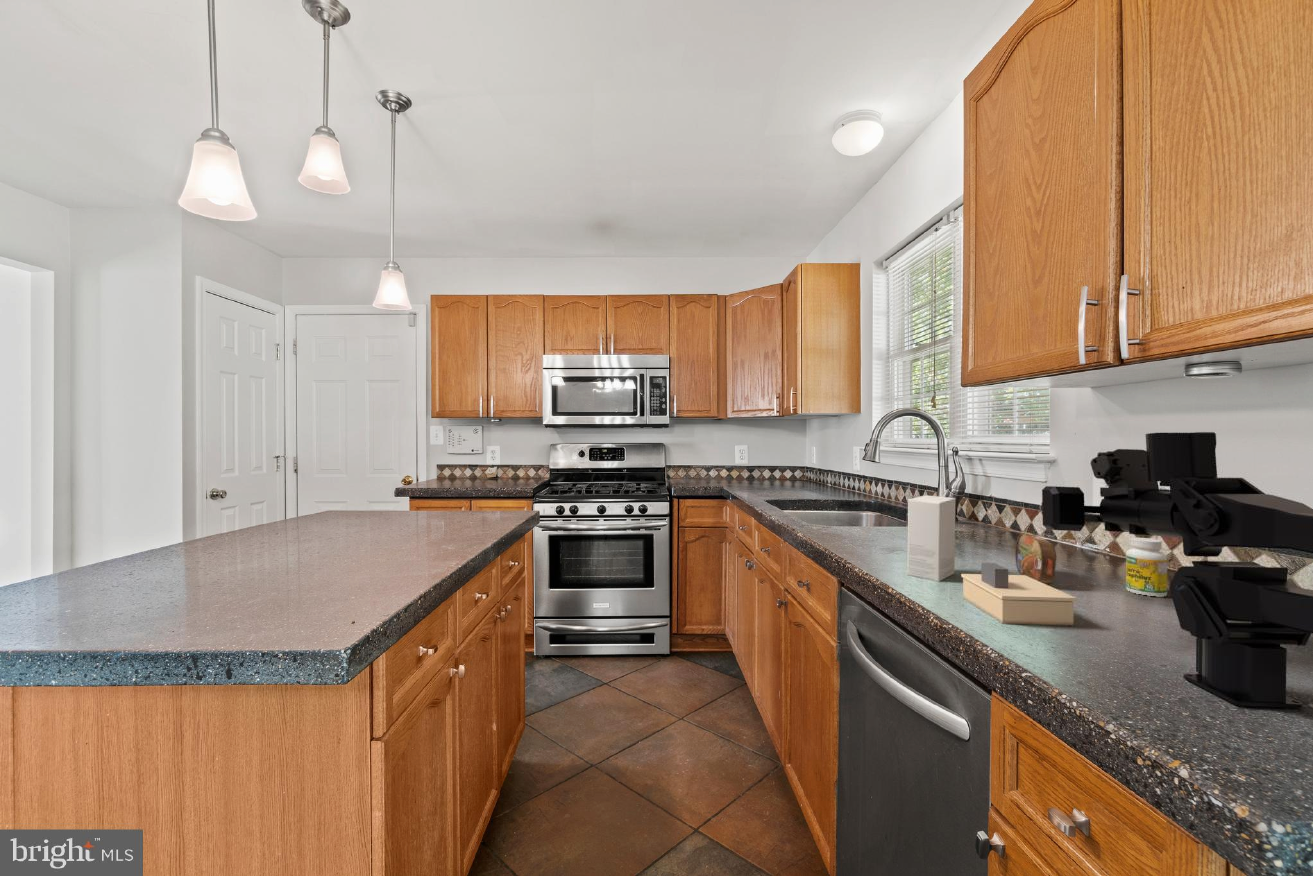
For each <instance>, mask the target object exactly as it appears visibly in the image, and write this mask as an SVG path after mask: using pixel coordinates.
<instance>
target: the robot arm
mask: <svg viewBox="0 0 1313 876" xmlns="http://www.w3.org/2000/svg"><path fill="white" fill-rule="evenodd" d="M1145 446H1146V448H1145V449H1146V450H1145V449H1137V448H1136V449H1133V448H1131V449H1129V448H1118V449H1115V450H1113V451H1110V450H1109V451H1106V452H1104V451H1103V452H1102V451H1101V452H1098V453H1097V454H1096V455H1097V456H1096V457H1094V458H1092V459H1091V460H1090V466H1091V470H1092V474H1093V476H1094V478H1096V479H1097V480H1103V481H1104V483H1105V484H1106V485H1107V487H1104V486H1103V487H1099V491H1100V492H1099V494H1100V497H1101V498H1102V499H1101V501H1100V503H1099V505H1085V493H1084V492H1083V490H1082V489H1081V488H1080V487H1079V486H1057V485H1056V486H1053V485H1047V486H1046V485H1045V487H1043V488H1042V489H1041V498H1042V499H1041V500H1042V501H1041V510H1042V526H1043V527H1044V528H1046V530H1050V531H1067V532H1081V531H1082V529H1084V527H1085V525H1086V522H1087V523H1089V522H1090V523H1104V531H1106V532H1119V533H1122V532H1123V533H1128V534H1129V535H1134V536H1135V535H1136V536H1137V535H1139V536H1141V535H1143V536H1157V537H1165V538H1174V539H1181V540H1182V552H1183V555H1184V556H1186V557H1203V558H1204V557H1208V558H1209V557H1211V558H1217V557H1219V556H1220V555H1221V554H1222V551H1223V548H1225V547H1227V548H1231V547H1232V548H1259V549H1285V550H1288V549H1289V550H1293V551H1299V552H1302V553H1303V552H1305V553H1310V554H1313V508H1311V507H1310V506H1309V505H1306V504H1305V503H1303V502H1300V501H1295V500H1293V499H1288V498H1285V497H1282V496H1277V495H1273V494H1267V493H1265V492H1263V491H1262V490H1261V489H1259V488H1258V487H1256V486H1255V485H1253V484H1252V483H1251V482H1249V481H1247V480H1246V479H1245V478H1243V477H1218V470H1217V469H1218V468H1217V467H1218V466H1217V455H1216V450H1217V449H1216V448H1217V433H1215V432H1213V431H1208V432H1207V431H1201V432H1200V431H1195V432H1151V433H1149V432H1148V433H1145ZM1160 487H1169V489H1166V488H1165V489H1164V488H1160ZM1191 563H1192V565H1193V566H1191V565H1187V566H1185V565H1183V566H1180V567H1178V568H1177V570H1176V572H1175V573H1174V575H1173V577H1172V579H1171V581H1170V583H1169V592H1170V596H1171V599H1172V603H1173V607H1174V609H1175V612H1176V616H1177V620H1178V623H1179V626H1180V629H1182V630H1184V631H1186V632H1189V633H1190V636H1192V637H1195V639H1196V640H1195V642H1196V643H1195V672H1196V673H1183V676H1182V677H1183V679H1184V680H1186V681H1188V682H1190V683H1192V684H1194V685H1196V686H1198V687H1200V688H1202V689H1204V690H1206V691H1208V692H1210V693H1212V694H1214V695H1215V696H1218V697H1219V698H1221V699H1223V700H1225V701H1228V702H1229V703H1231V704H1233V705H1235V706H1239V707H1240V706H1241V707H1242V706H1243V707H1258V708H1259V707H1260V708H1261V707H1264V708H1285V709H1303V707H1304V704H1303V702H1301V701H1300V700H1299V701H1298V700H1296V699H1294V698H1292V697H1290V696H1289V695H1288V696H1287V663H1288V662H1287V656H1288V655H1287V654H1288V653H1287V652H1288V649H1287V648H1286V647H1285V645H1286V646H1292V645H1293V646H1298V647H1299V646H1300V647H1305V646H1306V645H1307V642H1308V641H1309V640H1310V637H1311V635H1312V634H1313V589H1308V588H1304V587H1300V586H1297V585H1296V584H1294V583H1292V582H1291V581H1290V580H1288V576H1289V575H1288V574H1289V567H1288V566H1287V567H1282V566H1281V567H1278V566H1264V565H1261V564H1259V563H1257V562H1255V561H1230V560H1229V561H1228V560H1227V561H1222V560H1221V561H1219V560H1218V561H1217V560H1192V562H1191ZM1231 621H1233V622H1231ZM1281 645H1283V647H1282V646H1281Z"/></svg>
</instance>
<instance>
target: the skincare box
mask: <svg viewBox="0 0 1313 876" xmlns="http://www.w3.org/2000/svg"><path fill="white" fill-rule="evenodd" d="M955 542H956V498H955V497H947V496H946V497H945V496H938V495H937V496H936V495H926V494H925V495H921V496H917V497H913V498H909V499H907V551H906V552H907V554H906V557H907V558H906V561H907V562H906V565H907V566H906V575H907V576H910V577H914V578H920V579H925V580H928V581H929V580H930V581H934V582H938V583H939V582H941V581H942V580H945V579H947V578H949V577H951V576H953V575H954V574H955V555H956V553H955V552H956V550H955V549H956V544H955Z"/></svg>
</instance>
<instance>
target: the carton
mask: <svg viewBox="0 0 1313 876" xmlns="http://www.w3.org/2000/svg"><path fill="white" fill-rule="evenodd" d="M962 578H963V577H962ZM962 584H963V585H962V587H963V588H962V598H963V600H964V601H966V602H968V603H969V604H971V605H973V606H974V607H975V608H977V609H978V610H980V611H982V612H984V613H985V614H987V615H988V616H990V617H991V618H993V619H994V620H996V621H998V622H999V623H1001V624H1004V625H1005V624H1006V625H1007V624H1008V625H1034V626H1035V625H1039V626H1041V625H1044V626H1068V625H1072V626H1074V610H1075V609H1074V608H1075V607H1074V602H1075V601H1044V600H1005V599H1000V598H999V597H997V596H995V595H993V594H991V593H990V592H988V591H986V590H984V589H982V588H981V587H979V586H977V585H975V584H974V583H972V582H970V581H968V580H966V579H965V578H963V579H962Z"/></svg>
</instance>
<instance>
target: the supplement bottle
mask: <svg viewBox="0 0 1313 876" xmlns="http://www.w3.org/2000/svg"><path fill="white" fill-rule="evenodd" d="M1130 545H1131V546H1132V548H1130V549H1127V551H1126V553H1125V558H1126V559H1125V560H1126V561H1125V566H1126V567H1125V570H1126V571H1125V583H1126V584H1125V587H1126V590H1127V591H1128V592H1129V591H1130V592H1129V593H1131V594H1134V593H1136V594H1135V595H1138V594H1142V595H1141V596H1143V595H1147V596H1146V597H1150V596H1156V597H1155V598H1164V596H1165V597H1166V596H1167V595H1168V557H1167V555H1166V553H1164V552H1162V551H1160V550H1162V548H1163V547H1162V540H1160V539H1156V538H1155V539H1154V538H1148V537H1131V538H1130Z"/></svg>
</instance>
